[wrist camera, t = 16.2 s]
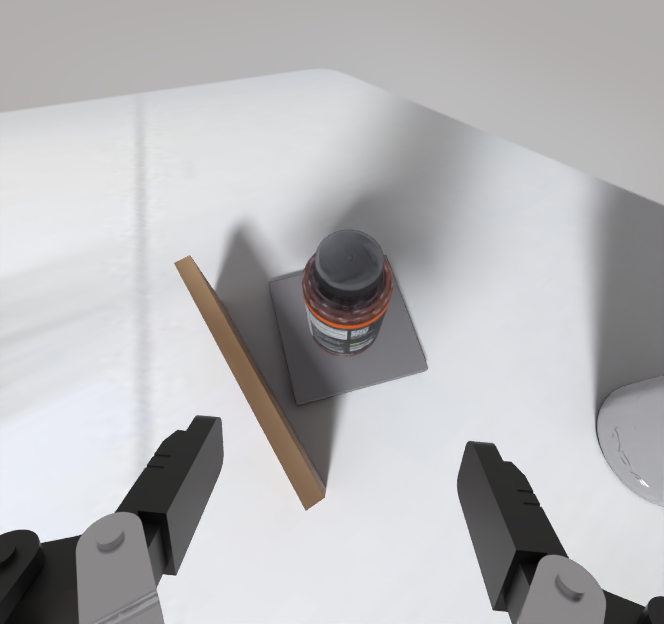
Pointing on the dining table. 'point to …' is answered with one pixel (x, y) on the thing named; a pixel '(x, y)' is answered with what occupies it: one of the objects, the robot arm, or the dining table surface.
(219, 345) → the walnut screen
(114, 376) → the dining table surface
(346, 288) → the supplement bottle
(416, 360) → the charcoal pad
